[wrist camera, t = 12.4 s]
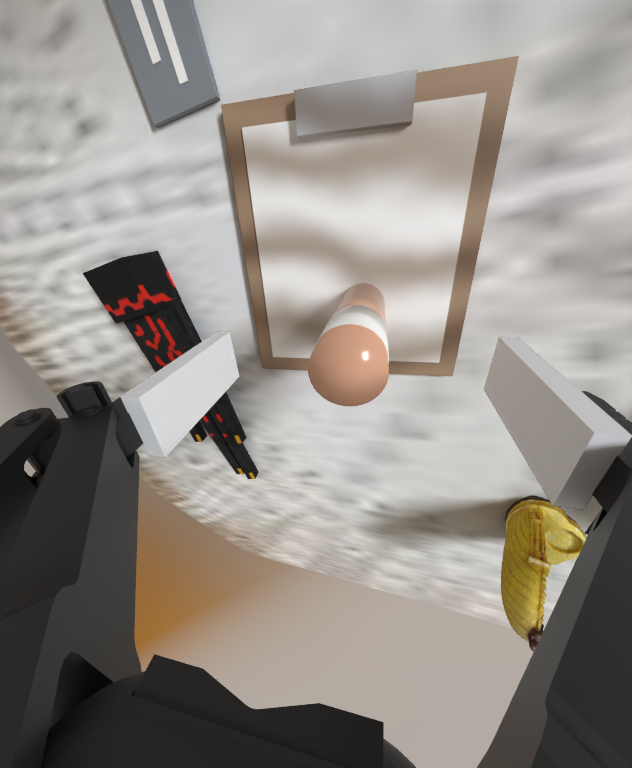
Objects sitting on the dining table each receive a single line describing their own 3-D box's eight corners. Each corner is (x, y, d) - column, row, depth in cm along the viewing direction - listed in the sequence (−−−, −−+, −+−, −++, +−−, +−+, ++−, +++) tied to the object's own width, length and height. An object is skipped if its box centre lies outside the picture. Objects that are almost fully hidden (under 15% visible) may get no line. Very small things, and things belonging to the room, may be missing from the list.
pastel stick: (340, 283, 25) (304, 331, 13) (386, 281, 24) (393, 333, 12) (340, 327, 27) (309, 404, 15) (383, 327, 26) (386, 409, 14)
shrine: (457, 516, 38) (497, 665, 25) (487, 476, 33) (554, 630, 21) (544, 542, 37) (632, 711, 24) (586, 504, 33) (720, 684, 20)
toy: (275, 458, 42) (167, 246, 28) (263, 485, 38) (130, 253, 24) (228, 462, 45) (108, 270, 31) (213, 488, 40) (66, 280, 26)
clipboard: (225, 108, 22) (214, 99, 20) (513, 62, 18) (525, 46, 16) (265, 365, 32) (259, 372, 31) (450, 372, 28) (454, 380, 27)
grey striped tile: (105, -18, 20) (96, -25, 19) (174, -64, 18) (167, -74, 17) (158, 127, 23) (152, 124, 23) (220, 99, 21) (215, 95, 21)
